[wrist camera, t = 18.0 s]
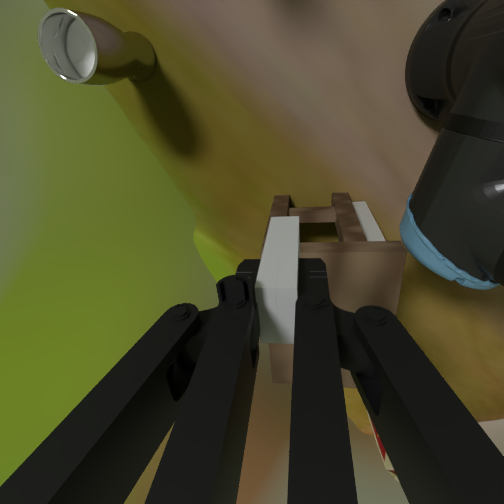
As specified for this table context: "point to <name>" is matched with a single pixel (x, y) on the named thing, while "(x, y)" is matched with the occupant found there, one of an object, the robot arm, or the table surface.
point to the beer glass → (92, 49)
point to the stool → (343, 269)
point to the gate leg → (367, 222)
